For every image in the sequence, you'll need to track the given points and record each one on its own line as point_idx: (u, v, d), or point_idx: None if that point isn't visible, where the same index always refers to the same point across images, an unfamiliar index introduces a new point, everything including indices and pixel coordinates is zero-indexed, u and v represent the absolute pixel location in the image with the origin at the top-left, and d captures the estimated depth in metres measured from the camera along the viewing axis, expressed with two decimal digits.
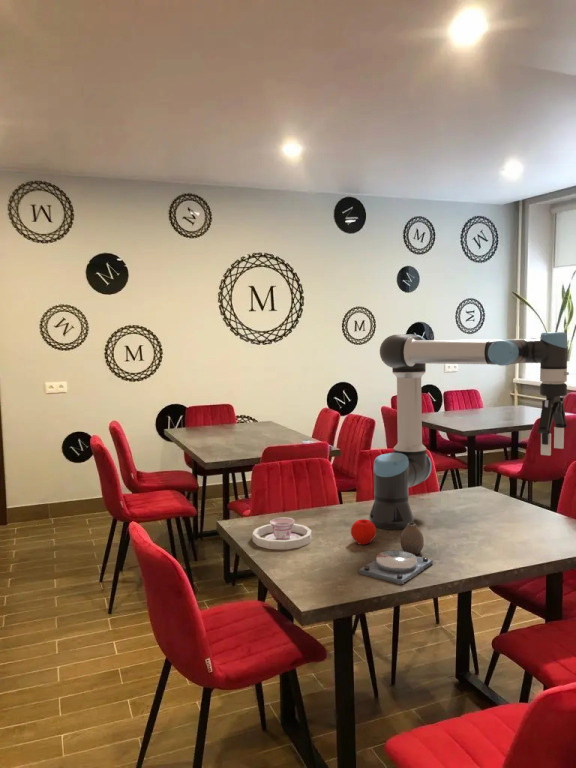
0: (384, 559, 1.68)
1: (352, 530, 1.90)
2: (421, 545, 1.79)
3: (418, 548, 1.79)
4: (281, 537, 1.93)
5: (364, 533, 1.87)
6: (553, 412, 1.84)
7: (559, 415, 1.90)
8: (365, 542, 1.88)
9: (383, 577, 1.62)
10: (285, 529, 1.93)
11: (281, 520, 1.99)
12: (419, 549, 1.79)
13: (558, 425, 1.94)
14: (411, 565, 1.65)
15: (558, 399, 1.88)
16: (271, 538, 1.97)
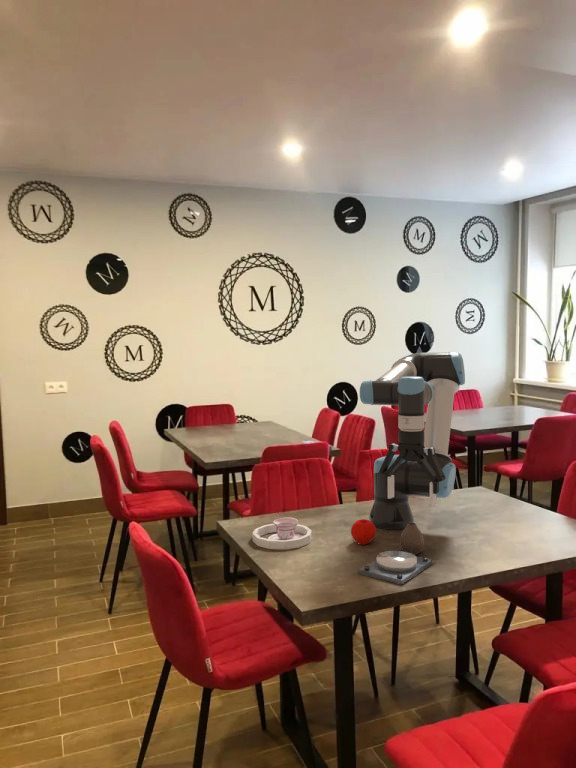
0: (384, 559, 1.68)
1: (352, 530, 1.90)
2: (421, 545, 1.79)
3: (418, 548, 1.79)
4: (284, 537, 1.93)
5: (364, 533, 1.87)
6: (397, 458, 1.81)
7: None
8: (365, 542, 1.88)
9: (383, 577, 1.62)
10: (289, 529, 1.93)
11: (285, 520, 1.99)
12: (419, 549, 1.79)
13: None
14: (411, 565, 1.65)
15: (414, 448, 1.78)
16: (274, 538, 1.97)
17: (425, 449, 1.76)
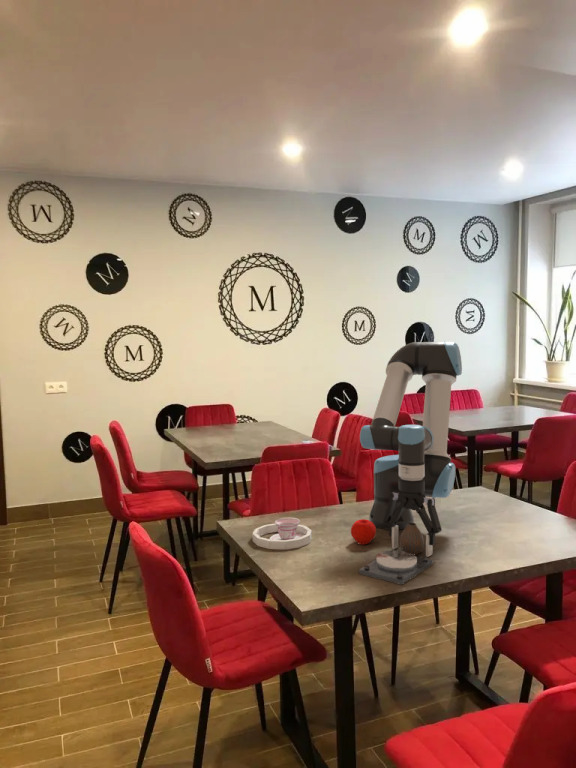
0: (384, 559, 1.68)
1: (352, 530, 1.90)
2: (421, 545, 1.79)
3: (418, 548, 1.79)
4: (286, 537, 1.93)
5: (364, 533, 1.87)
6: (399, 507, 1.82)
7: None
8: (365, 542, 1.88)
9: (383, 577, 1.62)
10: (290, 529, 1.93)
11: (286, 520, 1.99)
12: (419, 549, 1.79)
13: None
14: (411, 565, 1.65)
15: (415, 496, 1.79)
16: (276, 538, 1.97)
17: (425, 499, 1.77)
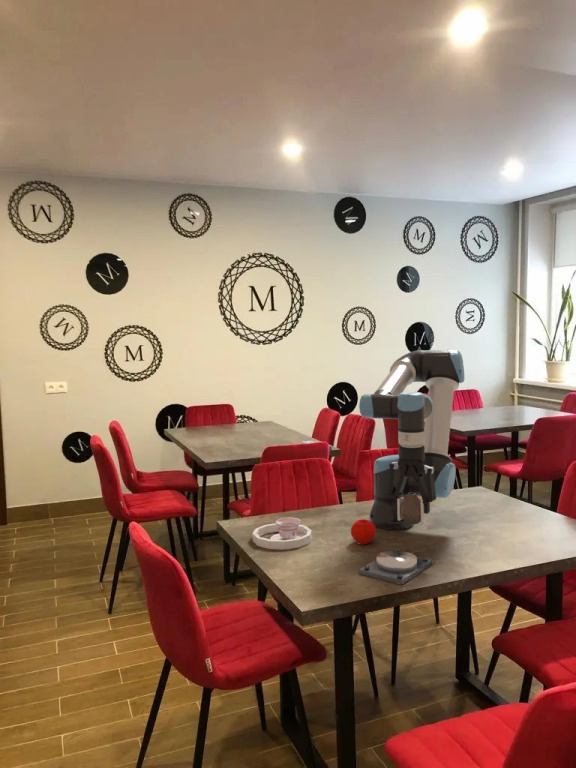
0: (384, 559, 1.68)
1: (352, 530, 1.90)
2: None
3: (418, 517, 1.78)
4: (287, 537, 1.93)
5: (364, 533, 1.87)
6: None
7: None
8: (365, 542, 1.88)
9: (383, 577, 1.62)
10: (291, 529, 1.93)
11: (287, 520, 1.99)
12: (419, 518, 1.79)
13: None
14: (411, 565, 1.65)
15: (415, 462, 1.78)
16: (277, 538, 1.97)
17: (425, 467, 1.77)
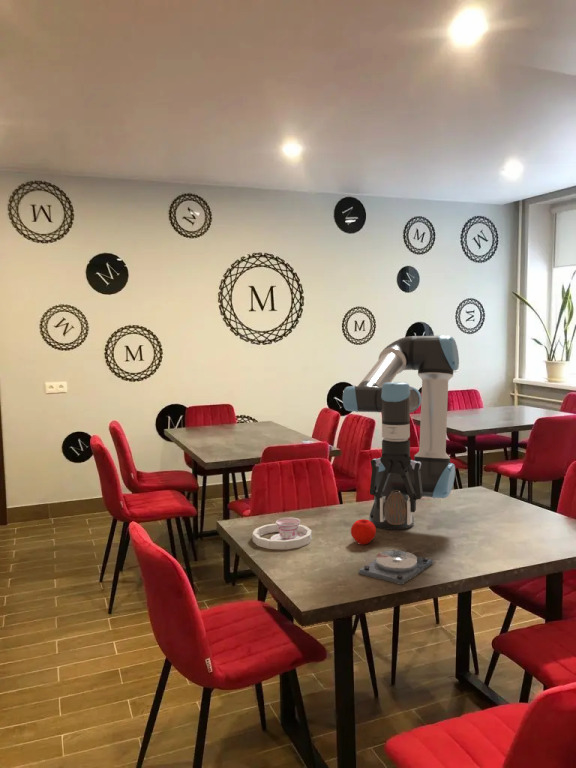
0: (384, 559, 1.68)
1: (352, 530, 1.90)
2: None
3: (404, 517, 1.65)
4: (287, 537, 1.93)
5: (364, 533, 1.87)
6: (384, 473, 1.67)
7: None
8: (365, 542, 1.88)
9: (383, 577, 1.62)
10: (291, 529, 1.93)
11: (287, 520, 1.99)
12: (406, 518, 1.66)
13: None
14: (411, 565, 1.65)
15: (401, 457, 1.65)
16: (277, 538, 1.97)
17: (412, 462, 1.65)
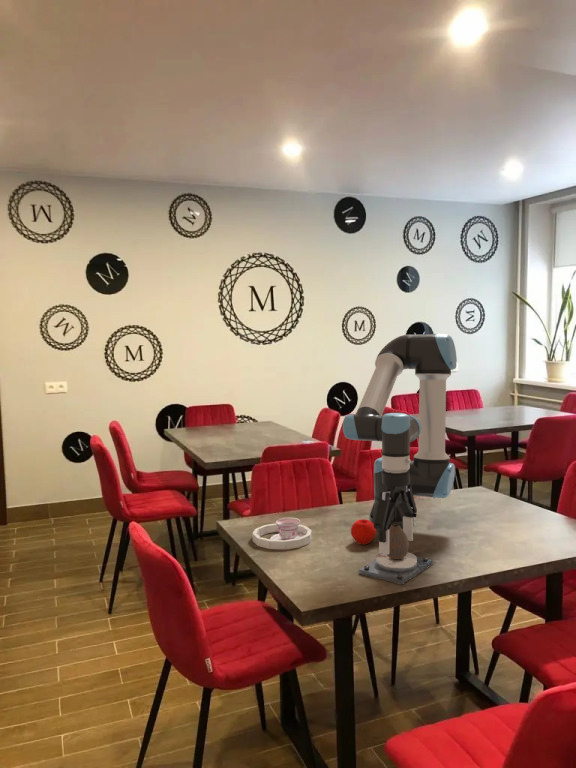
0: (384, 559, 1.68)
1: (352, 530, 1.90)
2: None
3: None
4: (287, 537, 1.93)
5: (364, 533, 1.87)
6: (393, 505, 1.64)
7: (405, 505, 1.71)
8: (365, 542, 1.88)
9: (383, 577, 1.62)
10: (291, 529, 1.93)
11: (287, 520, 1.99)
12: None
13: (407, 514, 1.74)
14: (411, 565, 1.65)
15: (402, 488, 1.68)
16: (277, 538, 1.97)
17: (405, 486, 1.71)
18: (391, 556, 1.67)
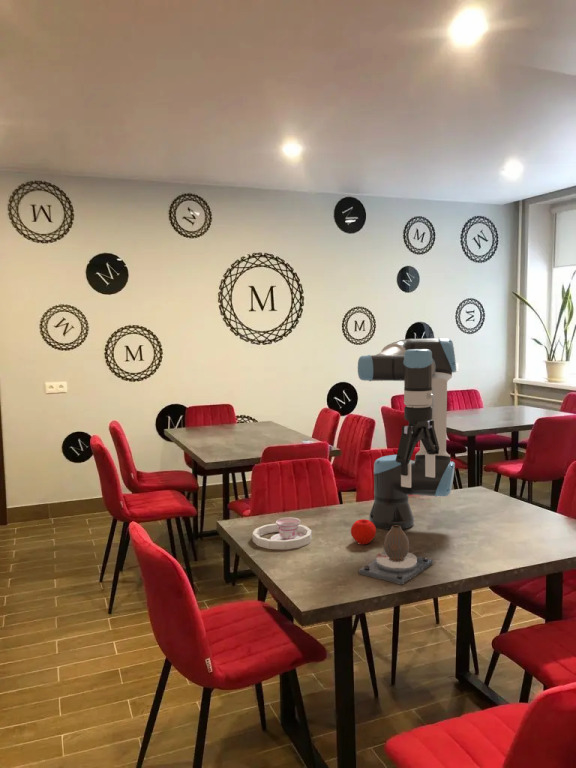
0: (384, 559, 1.68)
1: (352, 530, 1.90)
2: None
3: None
4: (287, 537, 1.93)
5: (364, 533, 1.87)
6: (415, 439, 1.65)
7: (427, 441, 1.71)
8: (365, 542, 1.88)
9: (383, 577, 1.62)
10: (291, 529, 1.93)
11: (287, 520, 1.99)
12: None
13: (429, 451, 1.75)
14: (411, 565, 1.65)
15: (424, 424, 1.69)
16: (277, 538, 1.97)
17: (427, 423, 1.72)
18: (391, 557, 1.67)
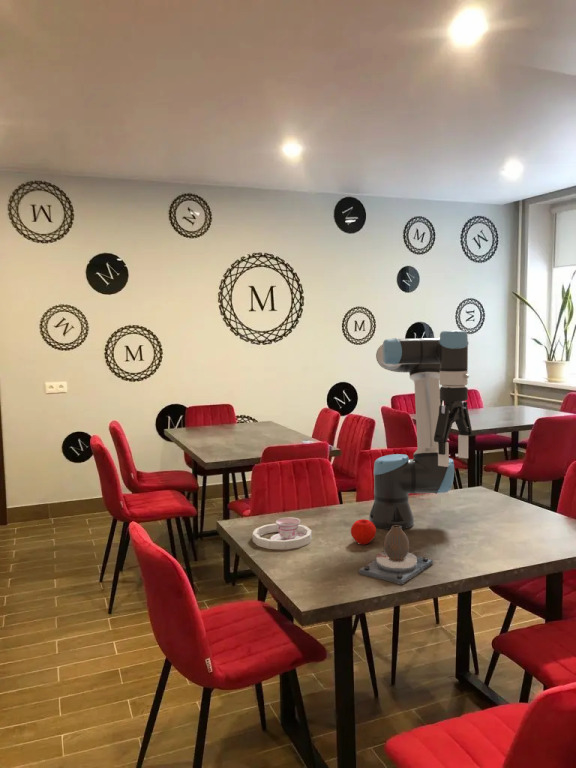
0: (384, 559, 1.68)
1: (352, 530, 1.90)
2: None
3: None
4: (287, 537, 1.93)
5: (364, 533, 1.87)
6: (452, 419, 1.67)
7: (462, 422, 1.73)
8: (365, 542, 1.88)
9: (383, 577, 1.62)
10: (291, 529, 1.93)
11: (287, 520, 1.99)
12: None
13: (462, 432, 1.77)
14: (411, 565, 1.65)
15: (459, 404, 1.71)
16: (277, 538, 1.97)
17: (461, 404, 1.74)
18: (391, 557, 1.67)
